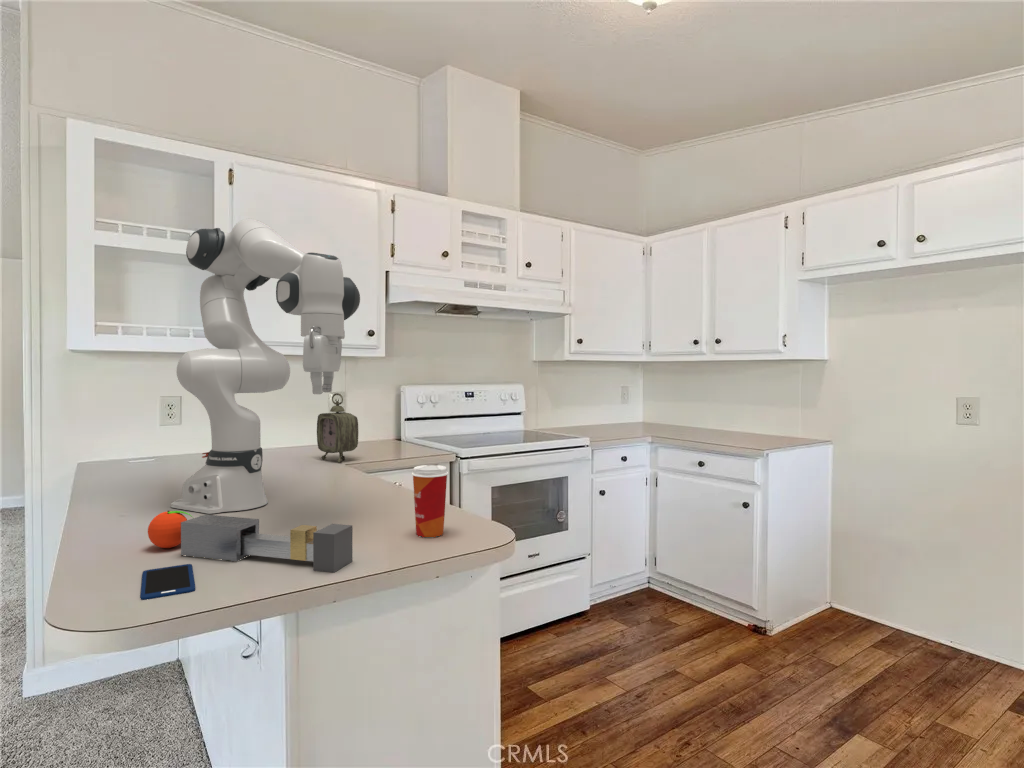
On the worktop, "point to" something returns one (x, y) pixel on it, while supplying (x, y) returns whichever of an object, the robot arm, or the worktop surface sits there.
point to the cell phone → (167, 581)
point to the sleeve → (216, 536)
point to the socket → (332, 547)
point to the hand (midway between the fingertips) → (322, 393)
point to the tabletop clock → (337, 431)
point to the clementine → (166, 529)
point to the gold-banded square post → (281, 544)
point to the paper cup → (429, 499)
